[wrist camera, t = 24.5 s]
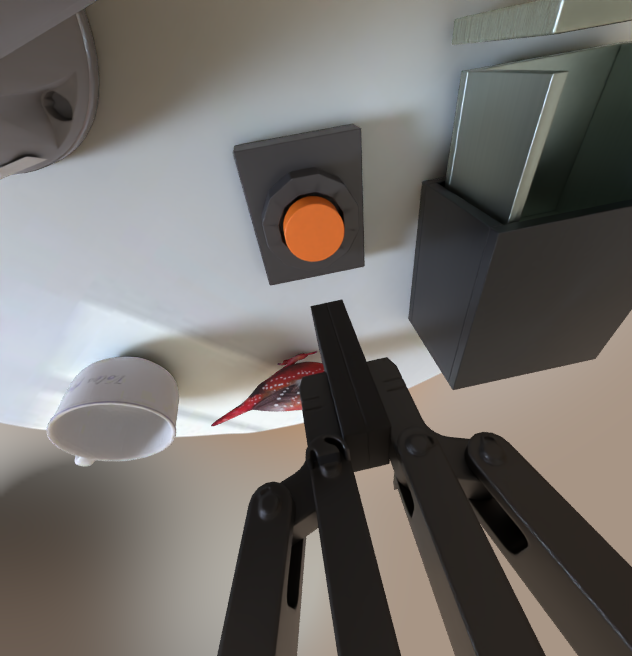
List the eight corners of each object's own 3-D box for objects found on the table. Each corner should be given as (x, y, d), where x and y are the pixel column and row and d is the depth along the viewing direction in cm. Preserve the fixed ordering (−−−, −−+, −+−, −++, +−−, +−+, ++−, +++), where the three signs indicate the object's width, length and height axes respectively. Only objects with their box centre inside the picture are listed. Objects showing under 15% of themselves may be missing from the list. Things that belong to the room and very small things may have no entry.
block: (233, 145, 22) (231, 158, 19) (353, 123, 22) (369, 132, 19) (268, 273, 29) (270, 297, 26) (358, 255, 30) (370, 276, 27)
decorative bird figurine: (350, 346, 38) (374, 414, 31) (221, 389, 39) (214, 464, 32) (345, 330, 36) (369, 399, 29) (209, 376, 37) (199, 453, 30)
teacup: (126, 326, 31) (96, 388, 25) (206, 377, 37) (197, 436, 31) (42, 386, 34) (-2, 454, 28) (129, 423, 41) (108, 484, 35)
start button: (277, 201, 22) (279, 210, 20) (337, 190, 22) (342, 198, 20) (289, 256, 25) (291, 267, 23) (341, 245, 25) (346, 255, 23)
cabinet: (422, 181, 26) (498, 233, 18) (578, 150, 26) (722, 187, 18) (408, 319, 37) (452, 390, 28) (520, 295, 37) (595, 359, 29)
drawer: (475, -154, 15) (657, -332, 8) (723, -193, 15) (1087, -391, 9) (426, 237, 29) (480, 289, 22) (558, 211, 29) (649, 254, 22)
